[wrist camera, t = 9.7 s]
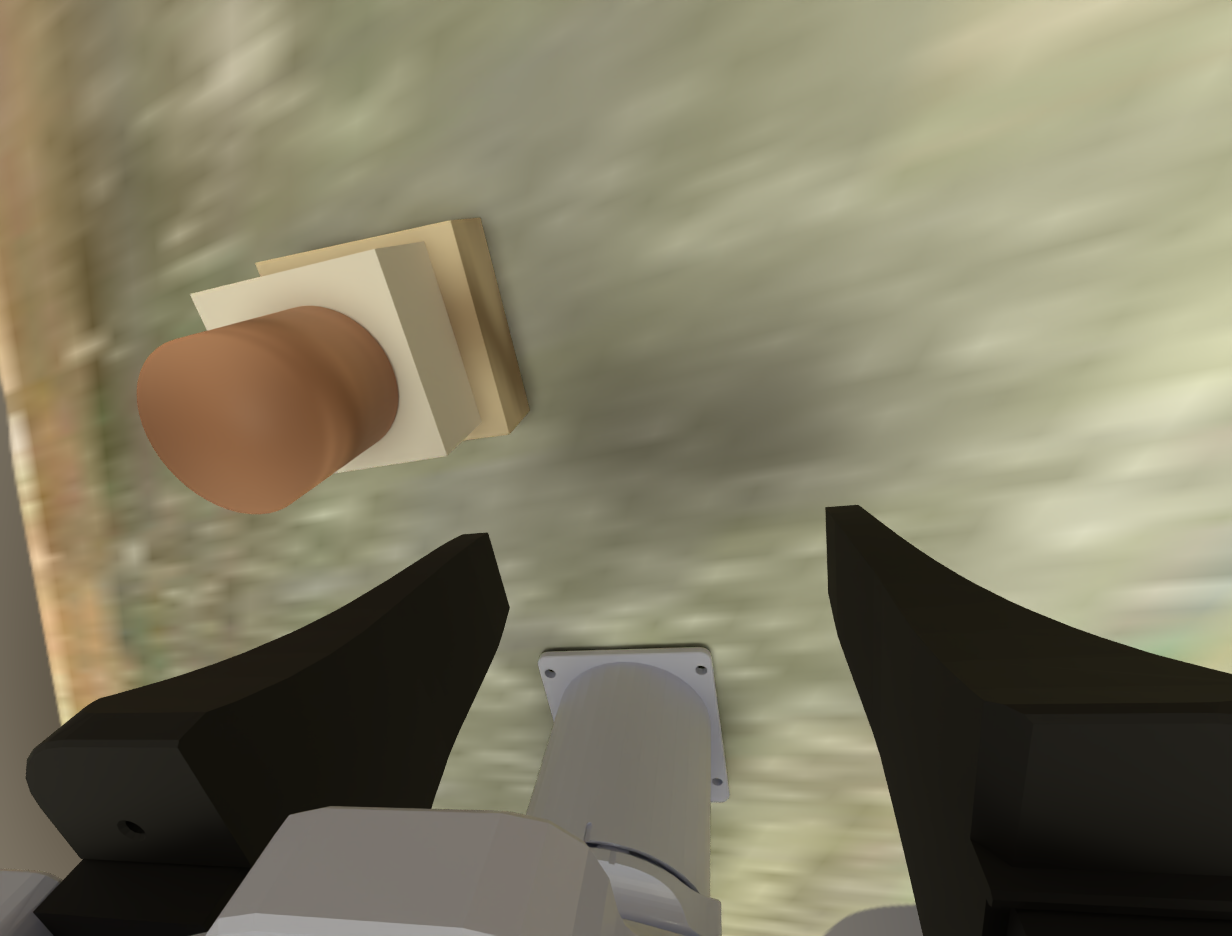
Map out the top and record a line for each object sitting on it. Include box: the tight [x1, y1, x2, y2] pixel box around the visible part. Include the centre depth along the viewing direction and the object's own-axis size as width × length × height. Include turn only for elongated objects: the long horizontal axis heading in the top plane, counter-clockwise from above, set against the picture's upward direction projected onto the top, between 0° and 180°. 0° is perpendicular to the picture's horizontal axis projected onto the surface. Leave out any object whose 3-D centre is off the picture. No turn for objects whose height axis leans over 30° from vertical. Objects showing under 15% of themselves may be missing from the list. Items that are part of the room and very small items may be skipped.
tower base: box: [255, 218, 530, 441], centre depth 21 cm, size 7×7×3 cm
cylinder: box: [137, 306, 398, 514], centre depth 16 cm, size 4×4×4 cm
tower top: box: [190, 241, 482, 473], centre depth 19 cm, size 6×6×3 cm
